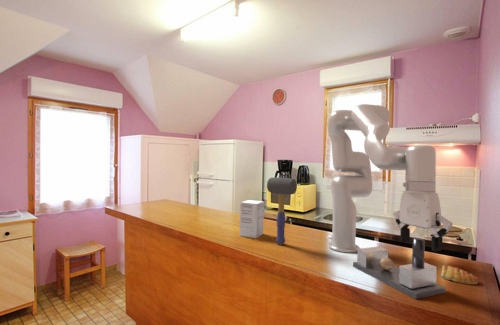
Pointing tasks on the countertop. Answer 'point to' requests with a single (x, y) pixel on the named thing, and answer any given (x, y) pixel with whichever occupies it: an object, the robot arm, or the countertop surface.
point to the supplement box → (251, 218)
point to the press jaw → (417, 268)
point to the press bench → (390, 273)
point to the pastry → (458, 275)
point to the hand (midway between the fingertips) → (420, 245)
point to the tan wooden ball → (386, 264)
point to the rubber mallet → (281, 201)
